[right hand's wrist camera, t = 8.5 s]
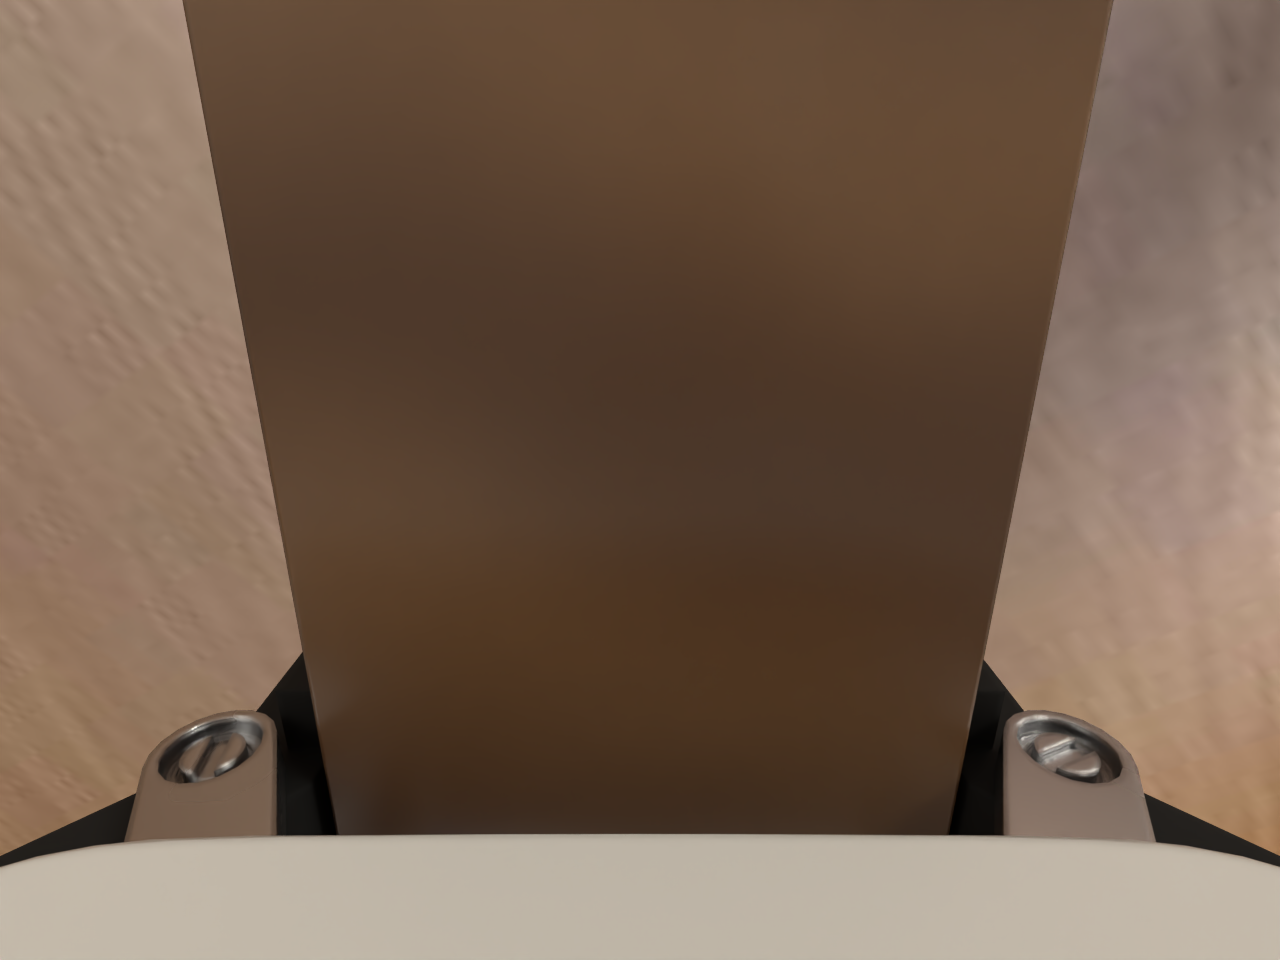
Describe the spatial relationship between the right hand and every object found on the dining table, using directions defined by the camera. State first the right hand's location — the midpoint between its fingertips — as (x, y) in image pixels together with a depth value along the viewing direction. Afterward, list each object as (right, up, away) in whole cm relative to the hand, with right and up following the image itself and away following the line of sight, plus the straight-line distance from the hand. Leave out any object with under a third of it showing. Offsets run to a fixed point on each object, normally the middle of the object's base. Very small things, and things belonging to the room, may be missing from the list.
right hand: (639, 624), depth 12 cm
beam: (0, +26, -8) cm, 28 cm away
